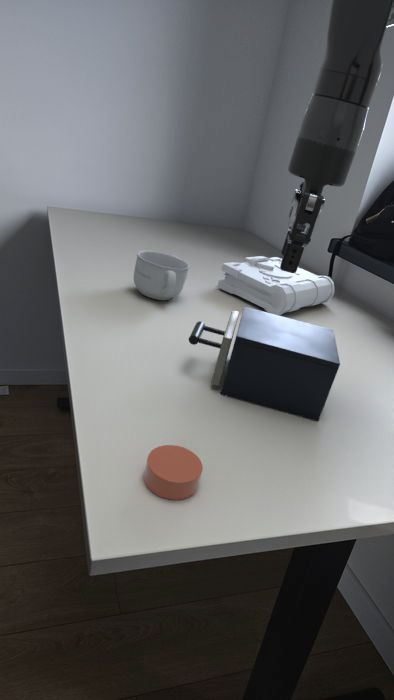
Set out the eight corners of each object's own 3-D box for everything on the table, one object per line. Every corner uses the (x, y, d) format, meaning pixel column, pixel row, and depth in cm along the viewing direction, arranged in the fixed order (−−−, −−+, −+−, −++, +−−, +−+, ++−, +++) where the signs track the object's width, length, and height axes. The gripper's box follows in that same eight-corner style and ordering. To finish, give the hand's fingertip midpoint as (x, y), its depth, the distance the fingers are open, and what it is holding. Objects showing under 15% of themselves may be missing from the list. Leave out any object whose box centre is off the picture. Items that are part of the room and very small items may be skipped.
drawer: (178, 375, 73) (189, 327, 69) (192, 344, 83) (202, 302, 80) (300, 409, 71) (317, 362, 68) (299, 373, 82) (314, 331, 78)
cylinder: (202, 470, 56) (206, 453, 55) (192, 506, 51) (197, 489, 50) (151, 455, 57) (155, 439, 56) (136, 490, 51) (140, 472, 50)
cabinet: (220, 394, 72) (236, 336, 68) (230, 358, 83) (244, 306, 79) (318, 421, 71) (340, 364, 67) (314, 381, 82) (333, 329, 78)
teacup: (131, 281, 107) (137, 245, 103) (180, 289, 109) (187, 254, 105) (130, 306, 94) (136, 266, 91) (185, 315, 96) (194, 276, 93)
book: (339, 303, 124) (350, 275, 121) (279, 321, 104) (289, 287, 101) (277, 276, 135) (285, 249, 131) (212, 287, 115) (219, 255, 111)
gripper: (363, 151, 55) (315, 285, 63) (350, 146, 68) (312, 258, 75) (299, 134, 56) (258, 269, 63) (298, 133, 69) (264, 245, 76)
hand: (287, 263), depth 69 cm, fingers open, 8 cm apart
